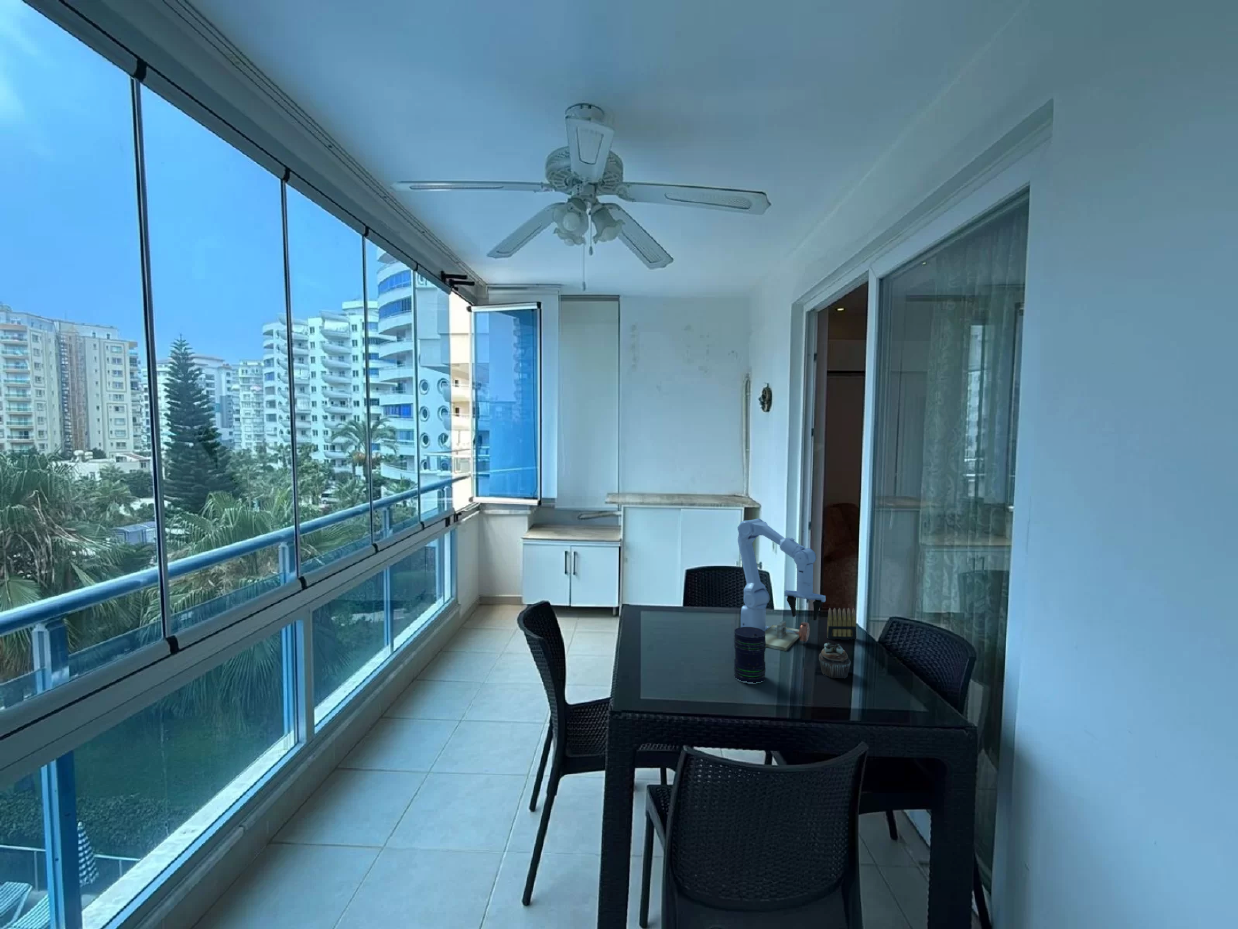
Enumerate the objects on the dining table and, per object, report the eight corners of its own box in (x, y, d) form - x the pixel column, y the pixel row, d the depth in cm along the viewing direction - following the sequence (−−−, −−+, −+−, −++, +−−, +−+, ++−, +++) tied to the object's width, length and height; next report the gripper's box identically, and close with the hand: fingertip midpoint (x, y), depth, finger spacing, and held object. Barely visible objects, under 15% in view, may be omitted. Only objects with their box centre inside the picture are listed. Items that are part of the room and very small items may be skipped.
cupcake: (853, 681, 175) (853, 650, 175) (821, 678, 177) (821, 647, 176) (847, 669, 184) (847, 639, 184) (816, 666, 186) (816, 637, 186)
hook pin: (772, 638, 211) (772, 619, 210) (777, 632, 216) (778, 615, 216) (804, 644, 204) (804, 625, 204) (809, 638, 210) (809, 620, 210)
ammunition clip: (854, 638, 213) (855, 607, 213) (856, 640, 211) (857, 608, 211) (826, 637, 214) (826, 606, 213) (827, 639, 212) (828, 608, 212)
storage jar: (727, 674, 180) (727, 629, 180) (752, 669, 184) (752, 625, 184) (746, 687, 171) (746, 639, 171) (772, 681, 175) (772, 634, 174)
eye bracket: (753, 644, 207) (753, 628, 207) (772, 627, 225) (772, 612, 225) (786, 651, 200) (786, 634, 200) (802, 633, 219) (802, 617, 218)
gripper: (782, 581, 207) (781, 617, 208) (822, 586, 199) (822, 624, 200) (787, 577, 213) (787, 612, 214) (827, 582, 205) (826, 619, 206)
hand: (804, 617), depth 207 cm, fingers open, 7 cm apart
